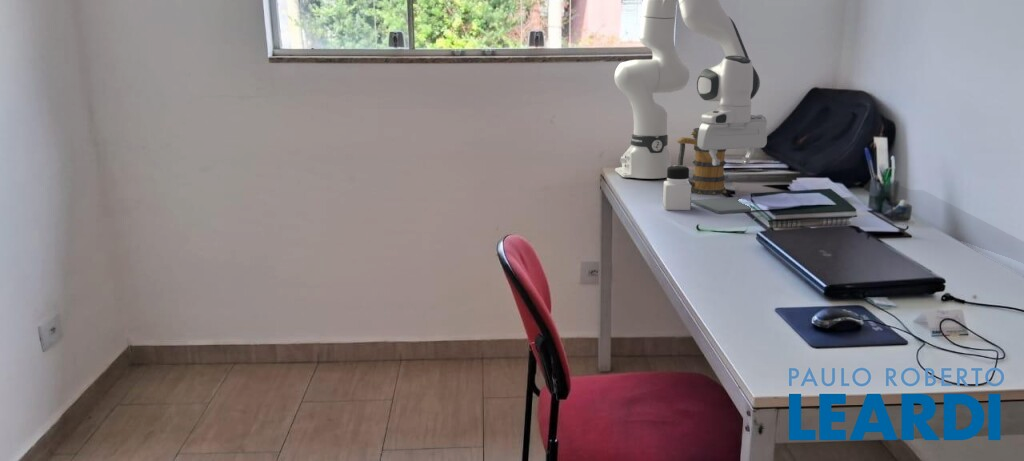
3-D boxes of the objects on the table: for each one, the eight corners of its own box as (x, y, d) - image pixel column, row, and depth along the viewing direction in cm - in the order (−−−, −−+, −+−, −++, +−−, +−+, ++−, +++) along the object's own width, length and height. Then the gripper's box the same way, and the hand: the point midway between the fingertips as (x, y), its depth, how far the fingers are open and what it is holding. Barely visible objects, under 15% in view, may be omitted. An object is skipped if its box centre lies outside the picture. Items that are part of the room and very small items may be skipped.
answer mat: (690, 202, 224) (690, 200, 223) (738, 199, 228) (739, 196, 227) (718, 213, 209) (718, 211, 208) (769, 210, 212) (769, 207, 212)
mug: (735, 196, 232) (739, 131, 227) (681, 198, 230) (684, 132, 225) (719, 189, 245) (723, 126, 240) (668, 190, 243) (670, 127, 238)
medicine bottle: (690, 210, 213) (692, 168, 210) (665, 210, 214) (666, 168, 211) (687, 205, 220) (689, 164, 217) (662, 205, 221) (664, 164, 218)
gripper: (760, 113, 218) (757, 161, 221) (696, 115, 213) (693, 164, 216) (773, 115, 212) (769, 164, 215) (707, 117, 207) (704, 167, 210)
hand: (730, 164), depth 215 cm, fingers open, 8 cm apart
